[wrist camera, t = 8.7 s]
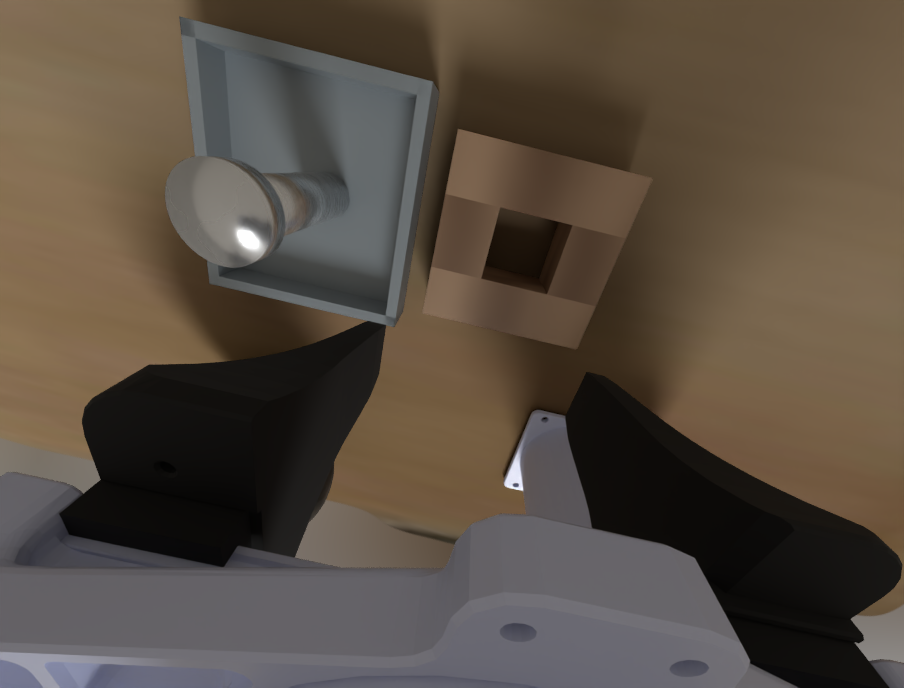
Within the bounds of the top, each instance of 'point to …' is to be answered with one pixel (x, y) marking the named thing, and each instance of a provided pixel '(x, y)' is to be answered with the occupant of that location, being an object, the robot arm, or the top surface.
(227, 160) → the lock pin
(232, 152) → the tray
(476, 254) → the block
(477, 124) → the top surface
